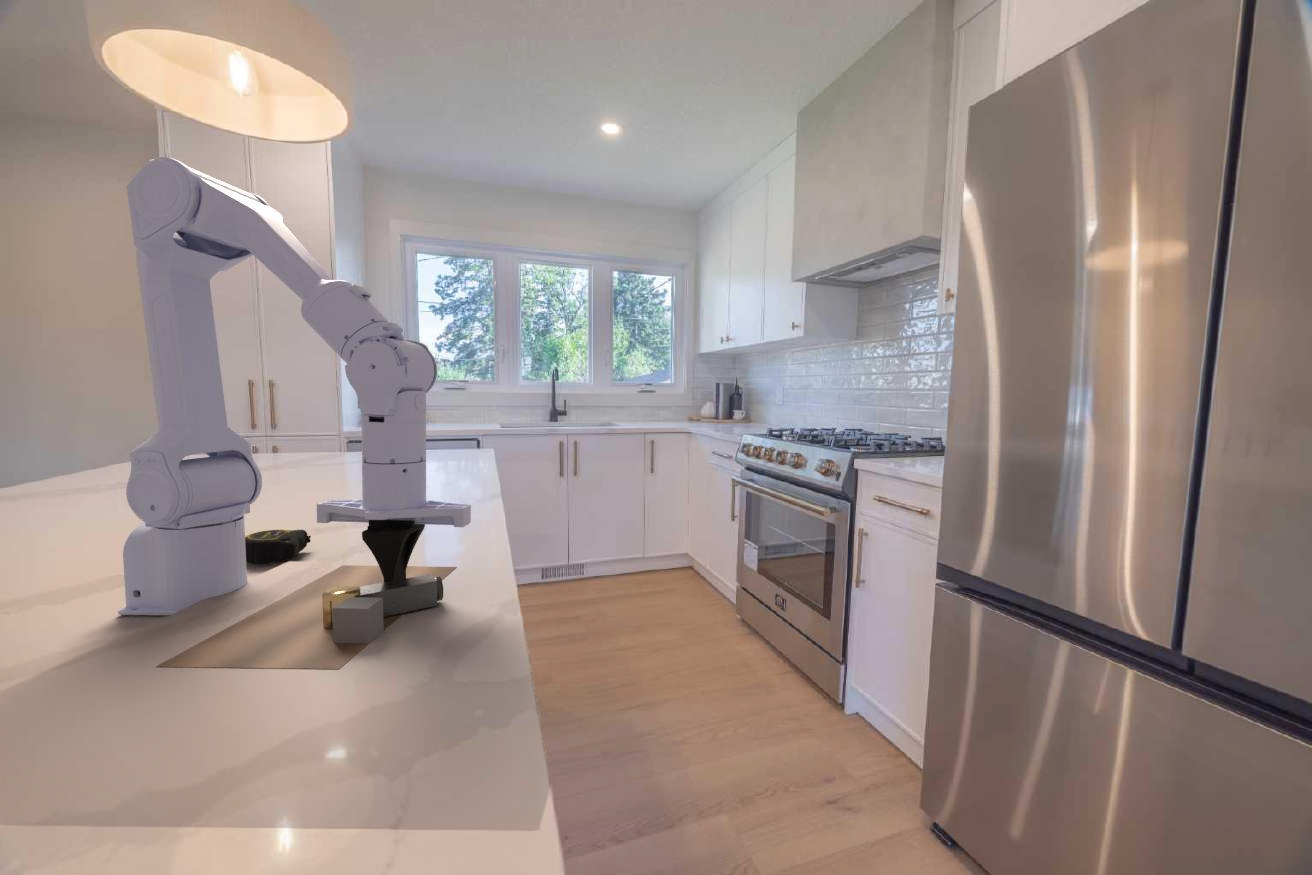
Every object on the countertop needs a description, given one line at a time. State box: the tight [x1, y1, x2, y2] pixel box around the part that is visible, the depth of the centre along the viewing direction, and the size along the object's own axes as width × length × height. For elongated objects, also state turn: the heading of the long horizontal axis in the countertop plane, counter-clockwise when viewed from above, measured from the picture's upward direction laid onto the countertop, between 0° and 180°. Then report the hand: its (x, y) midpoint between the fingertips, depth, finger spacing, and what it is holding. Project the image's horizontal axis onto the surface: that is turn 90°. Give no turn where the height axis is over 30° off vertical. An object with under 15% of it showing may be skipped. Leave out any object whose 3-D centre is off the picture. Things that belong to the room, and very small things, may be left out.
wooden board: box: [155, 564, 458, 670], centre depth 52 cm, size 14×24×2 cm, turn 0°
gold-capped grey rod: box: [322, 574, 444, 628], centre depth 50 cm, size 10×3×3 cm, turn 127°
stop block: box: [332, 597, 385, 644], centre depth 45 cm, size 3×2×3 cm
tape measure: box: [245, 529, 312, 565], centre depth 70 cm, size 7×7×4 cm
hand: (395, 593), depth 53 cm, fingers closed, pressing on gold-capped grey rod
